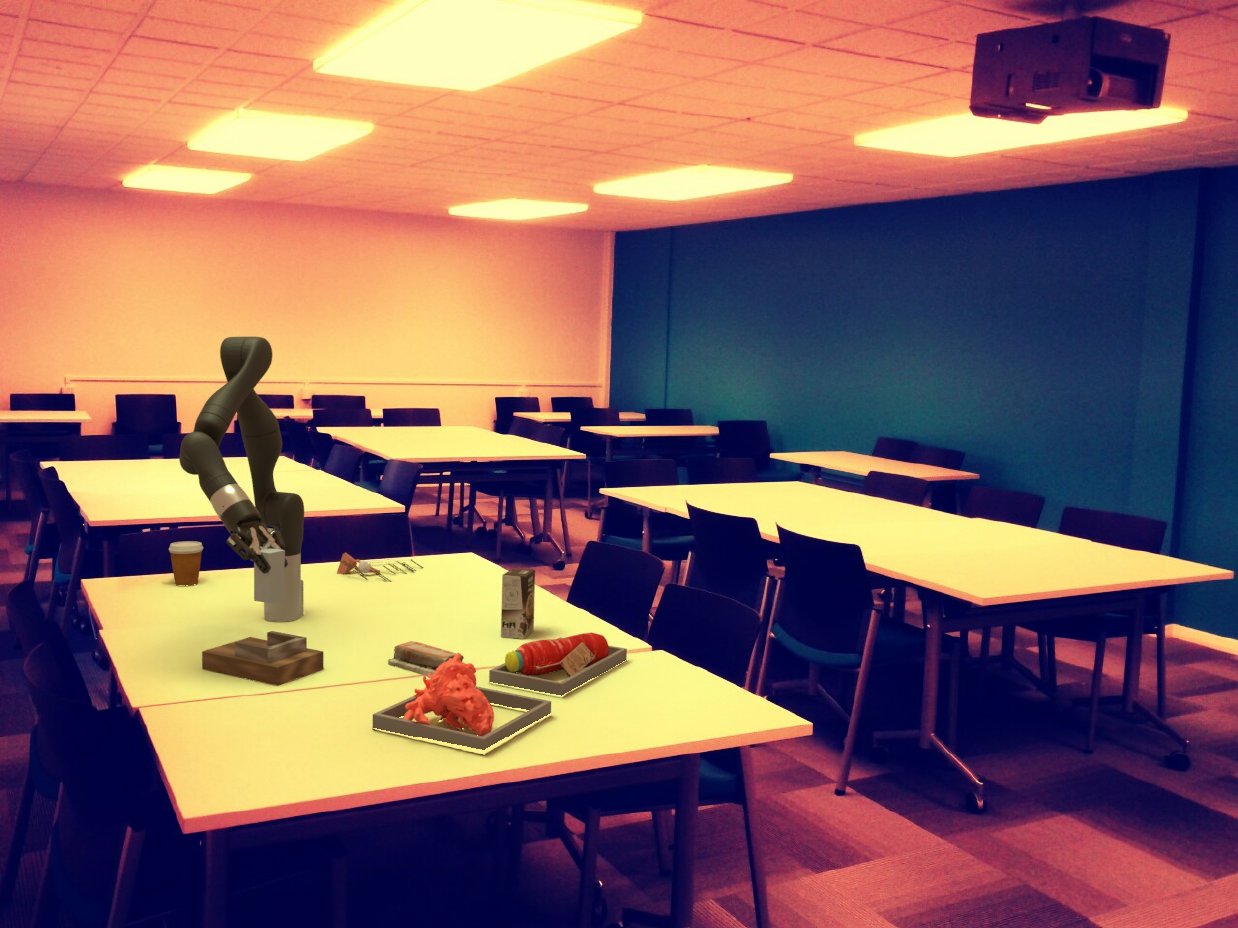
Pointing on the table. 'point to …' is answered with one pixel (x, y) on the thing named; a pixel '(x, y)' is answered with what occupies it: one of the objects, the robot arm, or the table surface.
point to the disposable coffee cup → (186, 561)
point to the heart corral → (393, 723)
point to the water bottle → (558, 655)
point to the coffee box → (517, 603)
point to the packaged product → (420, 657)
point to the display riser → (265, 658)
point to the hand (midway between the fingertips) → (276, 568)
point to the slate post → (270, 577)
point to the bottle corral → (554, 687)
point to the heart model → (453, 698)
